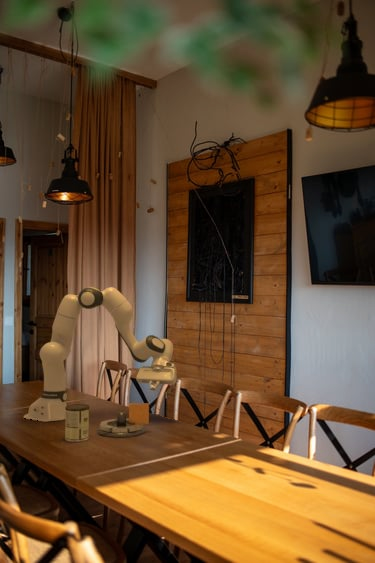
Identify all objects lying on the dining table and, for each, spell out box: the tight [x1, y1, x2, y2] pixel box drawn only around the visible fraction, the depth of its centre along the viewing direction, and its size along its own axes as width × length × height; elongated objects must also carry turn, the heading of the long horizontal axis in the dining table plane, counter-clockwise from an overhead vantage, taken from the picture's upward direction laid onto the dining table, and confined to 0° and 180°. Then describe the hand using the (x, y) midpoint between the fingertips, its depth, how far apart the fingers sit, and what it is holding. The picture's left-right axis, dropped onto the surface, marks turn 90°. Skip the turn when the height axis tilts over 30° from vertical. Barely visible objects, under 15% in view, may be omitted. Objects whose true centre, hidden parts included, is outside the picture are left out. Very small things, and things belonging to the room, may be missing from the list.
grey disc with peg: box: [96, 411, 146, 439], centre depth 248 cm, size 22×22×8 cm
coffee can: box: [64, 403, 90, 443], centre depth 235 cm, size 10×10×14 cm
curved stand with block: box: [99, 402, 150, 433], centre depth 248 cm, size 22×19×11 cm
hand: (152, 389), depth 264 cm, fingers closed
